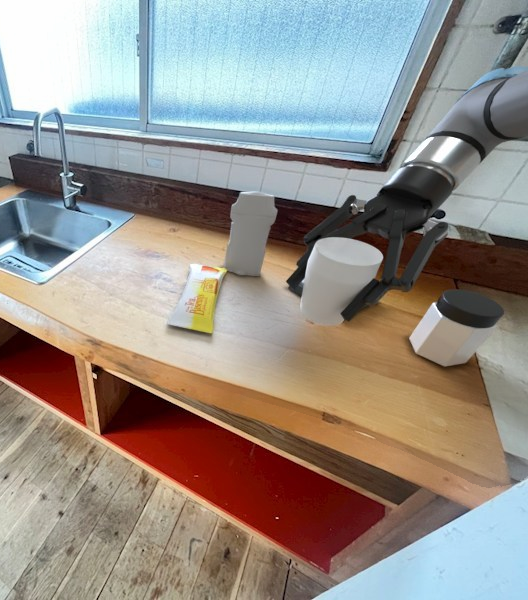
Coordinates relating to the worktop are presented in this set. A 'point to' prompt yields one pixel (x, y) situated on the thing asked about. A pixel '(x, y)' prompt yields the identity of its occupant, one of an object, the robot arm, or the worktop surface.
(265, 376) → the worktop surface
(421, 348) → the jar
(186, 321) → the food package
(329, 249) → the cup
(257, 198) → the tall pale column
